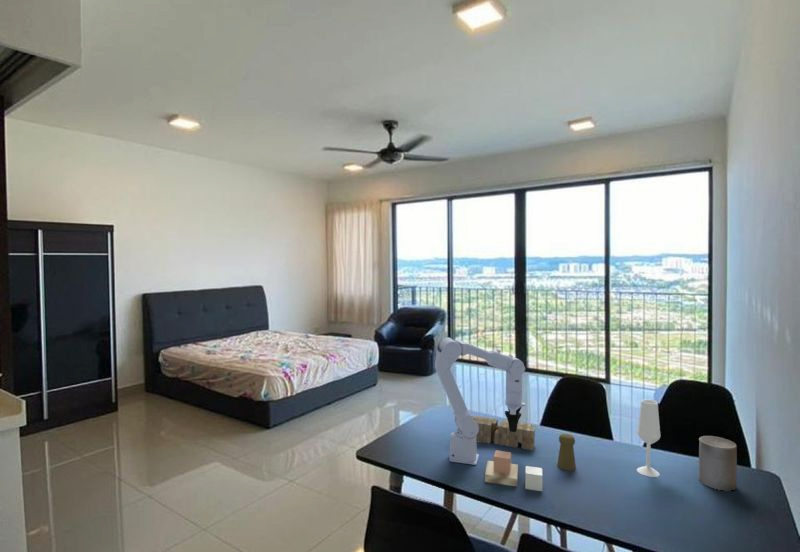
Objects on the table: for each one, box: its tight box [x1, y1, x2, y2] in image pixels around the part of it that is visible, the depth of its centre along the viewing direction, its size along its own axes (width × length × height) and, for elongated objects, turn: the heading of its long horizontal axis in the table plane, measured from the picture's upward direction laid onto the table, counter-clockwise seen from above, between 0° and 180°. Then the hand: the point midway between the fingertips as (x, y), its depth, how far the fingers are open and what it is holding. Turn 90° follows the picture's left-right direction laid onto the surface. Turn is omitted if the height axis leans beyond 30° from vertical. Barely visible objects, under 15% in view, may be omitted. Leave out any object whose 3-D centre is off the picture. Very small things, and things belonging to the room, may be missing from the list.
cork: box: [557, 433, 577, 472], centre depth 146 cm, size 6×6×11 cm
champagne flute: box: [636, 398, 661, 478], centre depth 142 cm, size 7×7×24 cm
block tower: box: [471, 415, 536, 451], centre depth 167 cm, size 8×8×29 cm
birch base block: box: [484, 460, 519, 487], centre depth 139 cm, size 10×10×3 cm
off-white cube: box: [524, 465, 543, 492], centre depth 133 cm, size 5×5×5 cm
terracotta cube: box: [493, 450, 512, 474], centre depth 139 cm, size 5×5×5 cm
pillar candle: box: [698, 435, 738, 492], centre depth 135 cm, size 10×10×15 cm
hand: (513, 427), depth 154 cm, fingers open, 7 cm apart
